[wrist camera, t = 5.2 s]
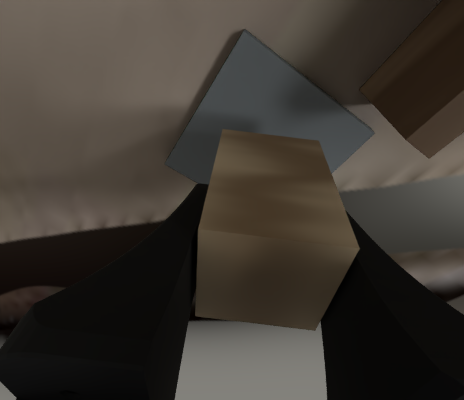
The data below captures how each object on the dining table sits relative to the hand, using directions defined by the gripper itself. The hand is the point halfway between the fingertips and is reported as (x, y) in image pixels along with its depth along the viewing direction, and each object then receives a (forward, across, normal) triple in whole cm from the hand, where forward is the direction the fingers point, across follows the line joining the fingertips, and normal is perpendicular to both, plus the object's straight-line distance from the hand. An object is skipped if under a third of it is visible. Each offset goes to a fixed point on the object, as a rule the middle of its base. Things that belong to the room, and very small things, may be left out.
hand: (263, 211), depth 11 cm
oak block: (+2, 0, 0) cm, 2 cm away
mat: (+6, 0, 0) cm, 6 cm away
